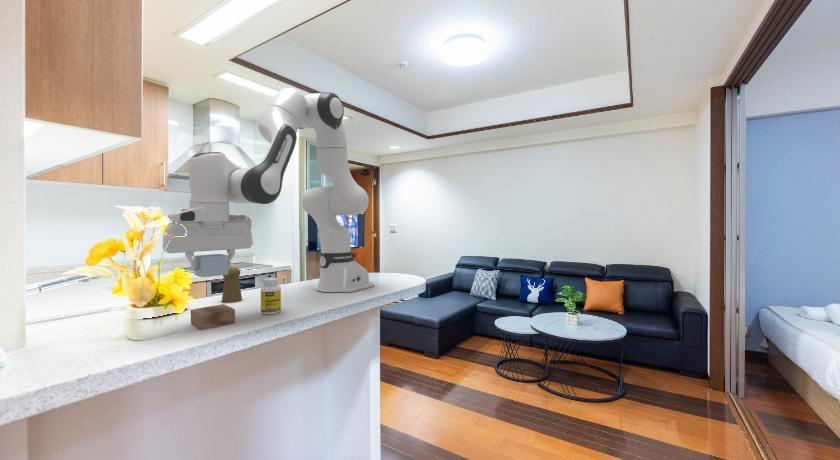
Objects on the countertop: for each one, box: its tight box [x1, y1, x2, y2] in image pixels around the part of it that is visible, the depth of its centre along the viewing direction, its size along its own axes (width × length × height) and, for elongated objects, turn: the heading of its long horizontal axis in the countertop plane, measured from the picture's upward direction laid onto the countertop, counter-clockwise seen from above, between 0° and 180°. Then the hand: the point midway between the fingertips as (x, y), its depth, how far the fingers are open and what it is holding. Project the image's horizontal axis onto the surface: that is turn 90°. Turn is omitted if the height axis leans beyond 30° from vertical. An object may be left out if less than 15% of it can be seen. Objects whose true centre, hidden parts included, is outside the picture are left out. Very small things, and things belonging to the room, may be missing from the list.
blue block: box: [193, 253, 229, 278], centre depth 93 cm, size 6×6×5 cm
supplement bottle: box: [260, 277, 282, 316], centre depth 104 cm, size 5×5×10 cm
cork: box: [221, 266, 243, 304], centre depth 119 cm, size 6×6×11 cm
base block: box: [190, 303, 236, 331], centre depth 94 cm, size 8×8×4 cm
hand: (211, 268), depth 93 cm, fingers closed on blue block, 6 cm apart
